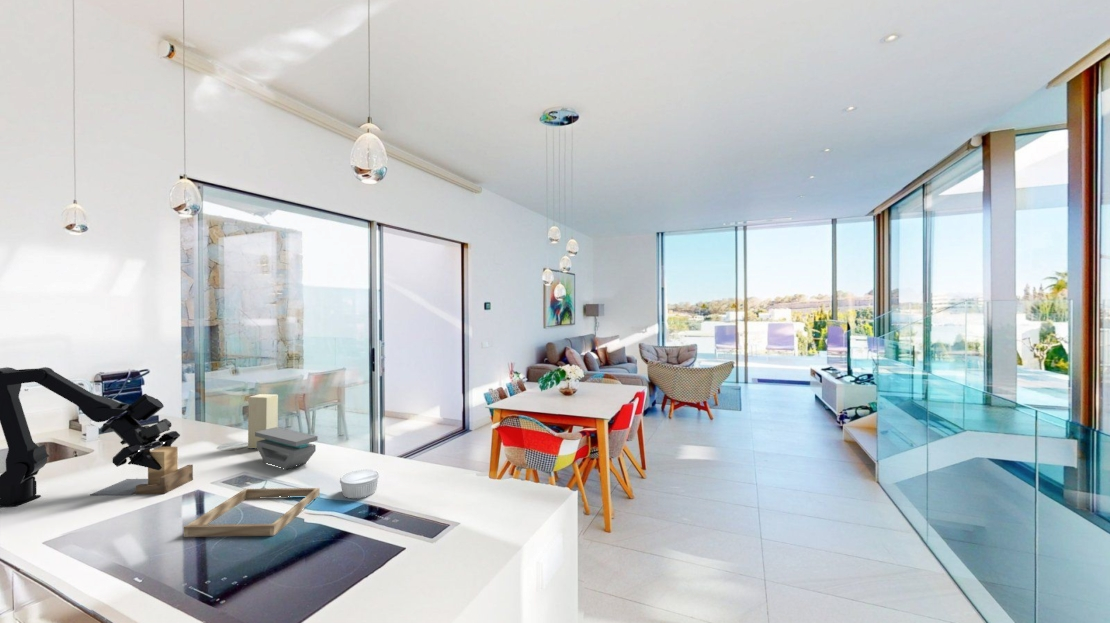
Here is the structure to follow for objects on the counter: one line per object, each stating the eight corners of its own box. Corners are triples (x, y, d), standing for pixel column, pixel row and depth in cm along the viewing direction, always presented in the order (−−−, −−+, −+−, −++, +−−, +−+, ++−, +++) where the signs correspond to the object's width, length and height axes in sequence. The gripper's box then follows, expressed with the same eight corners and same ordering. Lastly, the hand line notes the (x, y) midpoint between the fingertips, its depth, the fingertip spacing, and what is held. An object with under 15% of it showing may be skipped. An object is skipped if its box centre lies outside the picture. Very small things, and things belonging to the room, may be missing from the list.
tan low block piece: (164, 493, 135) (164, 477, 135) (135, 494, 135) (135, 477, 135) (192, 479, 146) (192, 464, 146) (166, 480, 146) (166, 464, 146)
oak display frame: (274, 535, 111) (273, 525, 111) (183, 536, 110) (183, 526, 110) (319, 496, 134) (319, 488, 134) (245, 497, 133) (245, 488, 133)
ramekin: (364, 502, 130) (364, 484, 130) (331, 498, 132) (331, 481, 132) (386, 487, 141) (386, 470, 141) (355, 484, 143) (355, 468, 143)
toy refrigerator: (279, 444, 184) (279, 393, 184) (266, 449, 177) (266, 397, 176) (261, 443, 185) (261, 393, 184) (247, 449, 177) (247, 397, 177)
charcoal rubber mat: (131, 494, 134) (131, 493, 134) (90, 495, 134) (90, 494, 134) (164, 479, 146) (164, 478, 146) (127, 479, 146) (127, 478, 146)
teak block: (164, 489, 138) (164, 451, 138) (148, 490, 138) (147, 451, 138) (177, 483, 143) (177, 446, 143) (161, 483, 143) (161, 446, 143)
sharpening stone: (255, 461, 164) (255, 432, 164) (276, 455, 171) (276, 427, 171) (296, 473, 152) (295, 442, 152) (317, 466, 159) (317, 436, 159)
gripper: (122, 421, 131) (160, 458, 131) (174, 406, 149) (207, 439, 150) (94, 448, 131) (133, 484, 131) (150, 430, 149) (184, 462, 150)
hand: (167, 466), depth 140 cm, fingers closed on teak block, 5 cm apart
